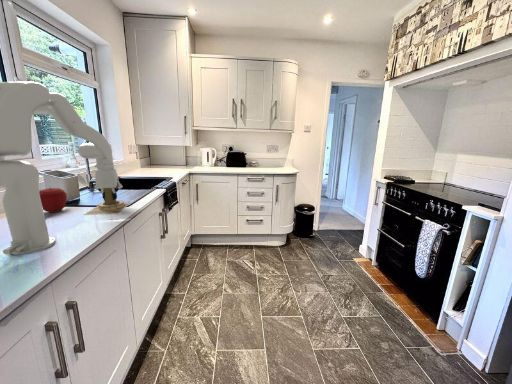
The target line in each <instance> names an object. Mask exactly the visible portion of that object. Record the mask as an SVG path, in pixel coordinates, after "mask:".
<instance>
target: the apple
mask: <svg viewBox="0 0 512 384" xmlns="http://www.w3.org/2000/svg"><path fill="white" fill-rule="evenodd" d="M39 193H40V199H41V203H42V207H43V212H46V213H47V212H48V213H52V214H53V213H56V212H57V213H58V212H61V211H62V210H63V209H64V208H65V207H66V203H67V199H68V198H67V197H68V196H67V195H68V194H67V193H66V191H65V190H64V189H62V188H58V187H57V188H56V187H54V188H53V187H52V188H51V187H49V188H45V189H41V190H39Z"/></svg>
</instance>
